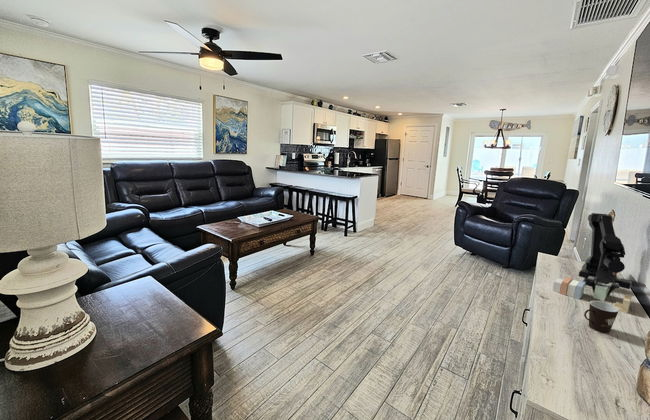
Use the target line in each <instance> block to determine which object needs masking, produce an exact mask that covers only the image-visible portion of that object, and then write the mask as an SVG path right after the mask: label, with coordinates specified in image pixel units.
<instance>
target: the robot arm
mask: <svg viewBox="0 0 650 420" xmlns="http://www.w3.org/2000/svg"><path fill="white" fill-rule="evenodd" d="M587 221H588V225H589V227H590V229H592V230H591V231H592V233H591V244H590V245H591V246H590V255H589V257H587V258H586V260H585V262H584V263H583V265H581V266H582V267H581V269H580V270H579V271H578V277H579V278H583V280H582V281H584V282H586V283H585V286H591V287H592V292H593V294H594V292H595V287H596V285H597V284H598V282H600V283H604V284H610V286H609V289H608V293H607V297H609V296H610V294H611V293H612V292H613V291H614V290H615V289H620V288H623V289H626V290H631V287H632V283H633V281H632V280H629V279H626V278H620V279H617V275H616V274H615V273H614V272H618V273H621V272H623V271H624V270H625V269H626V266H625V264H624V262H623V261H621V260H622V258H625V256H626V251H625V247H624V244H623V243H622V240H621V238H619V237H618V236H616V232H615V228H614V225H613V216H612V215H609V214H607V213H597V212H592V213H591V214H588V217H587ZM619 252H620V253H619ZM613 274H615V275H616V276H615V275H613ZM607 297H606V298H607Z"/></svg>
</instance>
